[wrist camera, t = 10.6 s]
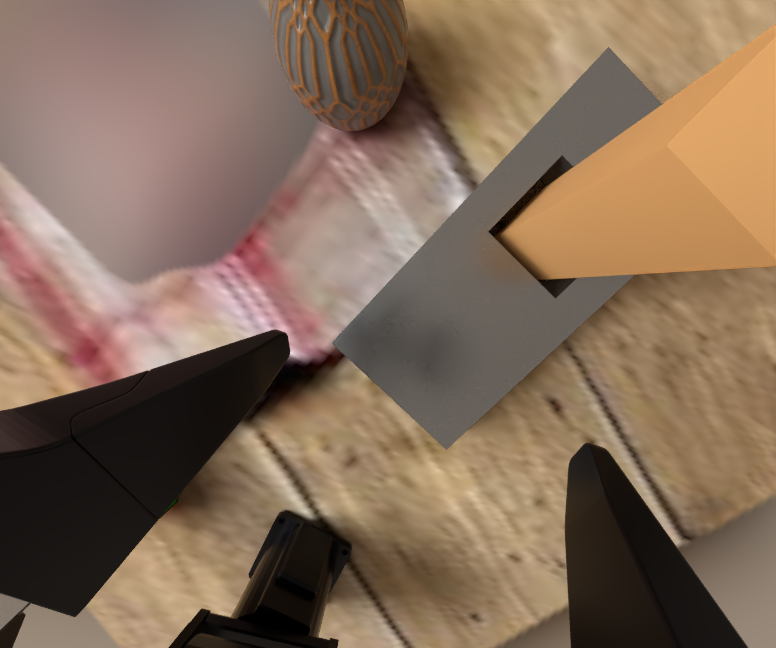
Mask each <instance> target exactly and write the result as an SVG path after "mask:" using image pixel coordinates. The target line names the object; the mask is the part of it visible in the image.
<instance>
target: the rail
mask: <svg viewBox="0 0 776 648" xmlns="http://www.w3.org/2000/svg"><path fill="white" fill-rule="evenodd" d="M661 105H662V104H661V103H660V102H659V100H658V99H657V98H656V97H655V96H654V95H653V94H652V93H651V92H650V91H649V90H648V89H647V88H646V87H645V85H644V84H643V83H642V82H641V81H640V80H639V79H638V78H637V77H636V76H635V75H634V74H633V73H632V72H631V71H630V69H629V68H628V67H627V66H626V65H625V64H624V63H623V62H622V61H621V60H620V59H619V58H618V57H617V56H616V54H615V53H614V52H613V51H612V50H611V49H610V48H609V47H608V48H607V49H606V50H605V51H604V52H603V53H602V55H601V56H600V57H599V58H598V59H597V60H596V61H595V62H594V63H593V64H592V65H591V66H590V67H589V68H588V70H587V71H586V72H585V73H584V74H583V75H582V76H581V77H580V78H579V79H578V80H577V81H576V82H575V83H574V84H573V86H572V87H571V88H570V89H569V90H568V91H567V92H566V93H565V94H564V95H563V96H562V97H561V98H560V99H559V101H558V102H557V103H556V104H555V105H554V106H553V107H552V108H551V109H550V110H549V111H548V112H547V113H546V114H545V115H544V117H543V118H542V119H541V120H540V121H539V122H538V123H537V124H536V125H535V126H534V127H533V128H532V129H531V130H530V132H529V133H528V134H527V135H526V136H525V137H524V138H523V139H522V140H521V141H520V142H519V143H518V144H517V145H516V146H515V148H514V149H513V150H512V151H511V152H510V153H509V154H508V155H507V156H506V157H505V158H504V159H503V160H502V161H501V163H500V164H499V165H498V166H497V167H496V168H495V169H494V170H493V171H492V172H491V173H490V174H489V175H488V176H487V177H486V179H485V180H484V181H483V182H482V183H481V184H480V185H479V186H478V187H477V188H476V189H475V190H474V191H473V192H472V194H471V195H470V196H469V197H468V198H467V199H466V200H465V201H464V202H463V203H462V204H461V205H460V206H459V207H458V208H457V210H456V211H455V212H454V213H453V214H452V215H451V216H450V217H449V218H448V219H447V220H446V221H445V222H444V223H443V225H442V226H441V227H440V228H439V229H438V230H437V231H436V232H435V233H434V234H433V235H432V236H431V237H430V238H429V239H428V241H427V242H426V243H425V244H424V245H423V246H422V247H421V248H420V249H419V250H418V251H417V252H416V253H415V254H414V256H413V257H412V258H411V259H410V260H409V261H408V262H407V263H406V264H405V265H404V266H403V267H402V268H401V269H400V270H399V272H398V273H397V274H396V275H395V276H394V277H393V278H392V279H391V280H390V281H389V282H388V283H387V284H386V285H385V287H384V288H383V289H382V290H381V291H380V292H379V293H378V294H377V295H376V296H375V297H374V298H373V299H372V300H371V301H370V303H369V304H368V305H367V306H366V307H365V308H364V309H363V310H362V311H361V312H360V313H359V314H358V315H357V316H356V318H355V319H354V320H353V321H352V322H351V323H350V324H349V325H348V326H347V327H346V328H345V329H344V330H343V331H342V332H341V334H340V335H339V336H338V337H337V338H336V339H335V340H334V341H333V342H332V344H334V345H335V346H336V347H337V348H338V349H339V350H340V351H341V352H342V353H343V354H344V355H345V356H346V357H348V358H349V359H350V360H351V361H352V362H353V363H354V364H355V365H356V366H357V367H358V368H359V369H360V370H361V371H363V372H364V373H365V374H366V375H367V376H368V377H369V378H370V379H371V380H372V381H373V382H374V383H375V384H377V385H378V386H379V387H380V388H381V389H382V390H383V391H384V392H385V393H386V394H387V395H388V396H389V397H391V398H392V399H393V400H394V401H395V402H396V403H397V404H398V405H399V406H400V407H401V408H402V409H403V410H404V411H406V412H407V413H408V414H409V415H410V416H411V417H412V418H413V419H414V420H415V421H416V422H417V423H418V424H420V425H421V426H422V427H423V428H424V429H425V430H426V431H427V432H428V433H429V434H430V435H431V436H432V437H433V438H435V439H436V440H437V441H438V442H439V443H440V444H441V445H442V446H443V447H444V448H445V449H446V450H447V449H448V448H449V447H450V446H451V445H452V444H453V443H454V442H455V441H456V440H457V439H458V438H460V437H461V436H462V435H463V434H464V433H465V432H466V431H467V430H468V429H469V428H470V427H471V426H472V425H474V424H475V423H476V422H477V421H478V420H479V419H480V418H481V417H482V416H483V415H484V414H485V413H486V412H488V411H489V410H490V409H491V408H492V407H493V406H494V405H495V404H496V403H497V402H498V401H499V400H501V399H502V398H503V397H504V396H505V395H506V394H507V393H508V392H509V391H510V390H511V389H512V388H513V387H515V386H516V385H517V384H518V383H519V382H520V381H521V380H522V379H523V378H524V377H525V376H526V375H528V374H529V373H530V372H531V371H532V370H533V369H534V368H535V367H536V366H537V365H538V364H539V363H540V362H542V361H543V360H544V359H545V358H546V357H547V356H548V355H549V354H550V353H551V352H552V351H553V350H554V349H556V348H557V347H558V346H559V345H560V344H561V343H562V342H563V341H564V340H565V339H566V338H567V337H569V336H570V335H571V334H572V333H573V332H574V331H575V330H576V329H577V328H578V327H579V326H580V325H581V324H583V323H584V322H585V321H586V320H587V319H588V318H589V317H590V316H591V315H592V314H593V313H594V312H595V311H597V310H598V309H599V308H600V307H601V306H602V305H603V304H604V303H605V302H606V301H607V300H608V299H610V298H611V297H612V296H613V295H614V294H615V293H616V292H617V291H618V290H619V289H620V288H621V287H622V286H624V285H625V284H626V283H627V282H628V281H629V280H630V279H631V278H632V277H633V276H634V275H635V274H632V275H615V276H598V277H581V278H563V279H551V280H550V281H549V282H548V283H547V284H546V285H545V286H544V287H543V286H542V285H541V284H540V283H539V282H538V281H537V280H536V279H535V278H534V277H533V276H532V275H531V274H530V273H529V272H528V271H527V270H526V269H525V268H524V267H523V266H522V265H521V264H520V263H519V262H518V261H517V260H516V259H515V258H514V257H513V256H512V255H511V254H510V253H509V252H508V251H507V250H506V249H505V248H504V247H503V246H502V245H501V244H500V243H499V242H498V241H497V240H496V239H495V238H494V237H493V236H492V235H491V234H490V233H489V232H488V231H489V230H490V229H491V228H492V227H493V226H494V225H495V224H496V223H497V222H498V221H499V220H500V219H501V218H502V217H503V216H504V215H505V214H506V213H507V212H508V211H509V210H510V209H511V208H512V206H513V205H514V204H515V203H516V202H517V201H518V200H519V199H520V198H521V197H522V196H523V195H524V194H525V193H526V192H527V191H528V190H529V189H530V188H531V187H532V186H533V185H534V184H535V183H536V182H537V181H538V180H539V179H540V180H541V181H542V182H543V183H544V184H545V185H546V186H548V185H549V184H550V183H552V182H553V181H555V180H556V179H557V178H559V177H560V176H562V175H563V174H565V173H566V172H567V171H569V170H570V169H572V168H573V167H574V166H576V165H577V164H579V163H580V162H582V161H583V160H584V159H586V158H587V157H589V156H590V155H591V154H593V153H594V152H596V151H597V150H599V149H600V148H601V147H603V146H604V145H606V144H607V143H608V142H610V141H611V140H613V139H614V138H615V137H617V136H618V135H620V134H621V133H623V132H624V131H625V130H627V129H628V128H630V127H631V126H632V125H634V124H635V123H637V122H638V121H640V120H641V119H642V118H644V117H645V116H647V115H648V114H649V113H651V112H652V111H654V110H655V109H657V108H658V107H659V106H661Z"/></svg>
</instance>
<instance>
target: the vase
mask: <svg viewBox="0 0 776 648" xmlns="http://www.w3.org/2000/svg"><path fill="white" fill-rule="evenodd" d="M269 12H270V23H271V31H272V36H273V41H274V46H275V50H276V54H277V57H278V60H279V63H280V66H281V68H282V71H283V73H284V75H285V77H286V79H287V81H288V83H289V85H290V86H291V88H292V89H293V91H294V93H295V94H296V96H297V97H298V99H299V100H300V101H301V103H302V104H303V105H304V106H305V108H306V109H307V110H308V111H309V112H310V113H311V114H312V115H314V116H315V117H316V118H317V119H319V120H320V121H322V122H323V123H325V124H326V125H328V126H330V127H333V128H336V129H339V130H343V131H359V130H363V129H366V128H369V127H371V126H373V125H374V124H376V123H377V122H379V121H380V120H381V119H382V118H383V117H384V116H385V115H386V114H387V113H388V112H389V110H390V109H391V108H392V106H393V104H394V103H395V101H396V99H397V97H398V95H399V93H400V90H401V87H402V84H403V81H404V77H405V73H406V67H407V59H408V25H407V18H406V12H405V7H404V3H403V0H269Z"/></svg>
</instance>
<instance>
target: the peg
mask: <svg viewBox="0 0 776 648" xmlns="http://www.w3.org/2000/svg"><path fill="white" fill-rule="evenodd" d="M494 238H495V239H496V240H497V241H498V242H499V243H500V244H501V245H502V246H503V247H504V248H505V249H506V250H507V251H508V252H509V253H510V254H511V255H512V256H513V257H514V258H515V259H516V260H517V261H518V262H519V263H520V264H521V265H522V266H523V267H524V268H525V269H526V270H527V271H528V272H529V273H530V274H531V275H532V276H533V277H534V278H535V279H536V280H546V279H563V278H581V277H598V276H615V275H632V274H650V273H667V272H684V271H701V270H719V269H736V268H753V267H770V266H776V25H774V26H773V27H771V28H770V29H768V30H767V31H766V32H764V33H763V34H761V35H760V36H759V37H757V38H756V39H754V40H753V41H751V42H750V43H749V44H747V45H746V46H744V47H743V48H742V49H740V50H739V51H737V52H736V53H734V54H733V55H732V56H730V57H729V58H727V59H726V60H725V61H723V62H722V63H720V64H719V65H717V66H716V67H715V68H713V69H712V70H710V71H709V72H708V73H706V74H705V75H703V76H702V77H700V78H699V79H698V80H696V81H695V82H693V83H692V84H691V85H689V86H688V87H686V88H685V89H683V90H682V91H681V92H679V93H678V94H676V95H675V96H674V97H672V98H671V99H669V100H668V101H666V102H665V103H664V104H662V105H661V106H659V107H658V108H657V109H655V110H654V111H652V112H651V113H649V114H648V115H647V116H645V117H644V118H642V119H641V120H640V121H638V122H637V123H635V124H634V125H632V126H631V127H630V128H628V129H627V130H625V131H624V132H623V133H621V134H620V135H618V136H617V137H615V138H614V139H613V140H611V141H610V142H608V143H607V144H606V145H604V146H603V147H601V148H600V149H599V150H597V151H596V152H594V153H593V154H591V155H590V156H589V157H587V158H586V159H584V160H583V161H582V162H580V163H579V164H577V165H576V166H574V167H573V168H572V169H570V170H569V171H567V172H566V173H565V174H563V175H562V176H560V177H559V178H557V179H556V180H555V181H553V182H552V183H550V184H549V185H548V186H546V187H545V188H543V189H542V190H540V191H539V192H538V193H536V194H535V195H534V196H533V197H532V198H531V199H530V200H529V201H528V202H527V203H526V204H525V205H524V206H523V208H522V209H521V210H520V211H519V212H518V213H517V214H516V215H515V216H514V217H513V218H512V219H511V220H510V221H509V222H508V223H507V224H506V225H505V226H504V227H503V228H502V229H501V230H500V231H499V232H498V233H497V235H496V236H495V237H494Z"/></svg>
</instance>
